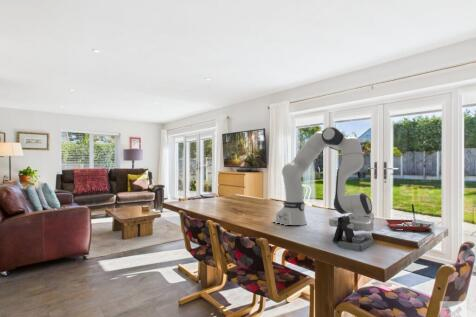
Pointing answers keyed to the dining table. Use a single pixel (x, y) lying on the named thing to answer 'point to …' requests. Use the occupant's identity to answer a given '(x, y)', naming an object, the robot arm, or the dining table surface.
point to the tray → (357, 247)
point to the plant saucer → (394, 226)
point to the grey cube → (358, 240)
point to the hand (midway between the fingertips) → (343, 226)
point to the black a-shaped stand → (343, 230)
